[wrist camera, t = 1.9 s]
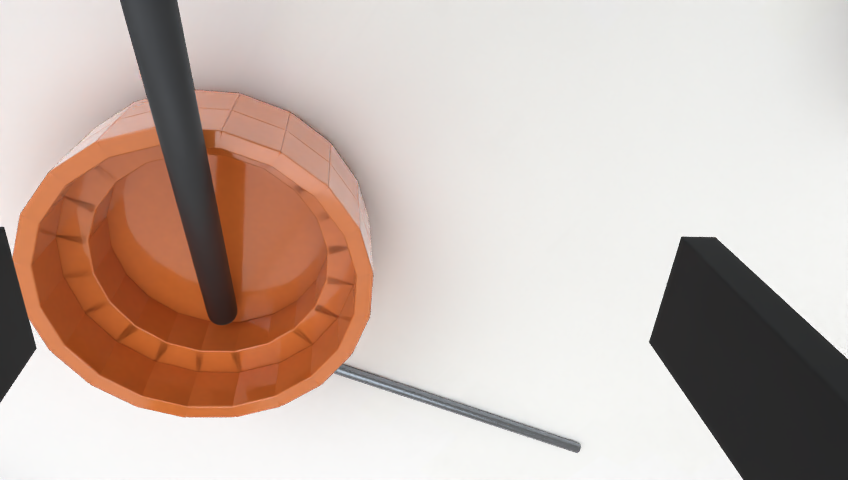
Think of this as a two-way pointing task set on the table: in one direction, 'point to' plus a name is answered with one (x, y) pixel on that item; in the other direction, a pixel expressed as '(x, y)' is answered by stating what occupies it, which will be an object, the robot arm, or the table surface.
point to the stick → (182, 144)
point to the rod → (456, 407)
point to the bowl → (174, 270)
